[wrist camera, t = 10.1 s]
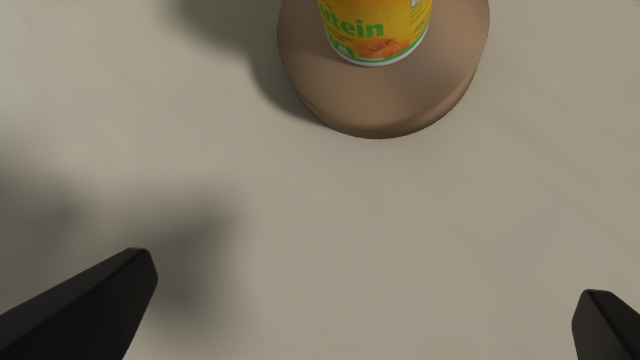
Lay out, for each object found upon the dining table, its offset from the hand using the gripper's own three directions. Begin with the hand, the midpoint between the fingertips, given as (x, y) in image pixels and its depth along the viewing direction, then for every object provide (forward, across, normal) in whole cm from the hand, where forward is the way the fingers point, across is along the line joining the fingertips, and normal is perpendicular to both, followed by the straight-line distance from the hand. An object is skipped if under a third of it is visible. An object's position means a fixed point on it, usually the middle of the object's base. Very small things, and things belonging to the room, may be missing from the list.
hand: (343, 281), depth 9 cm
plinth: (+19, +1, 0) cm, 19 cm away
